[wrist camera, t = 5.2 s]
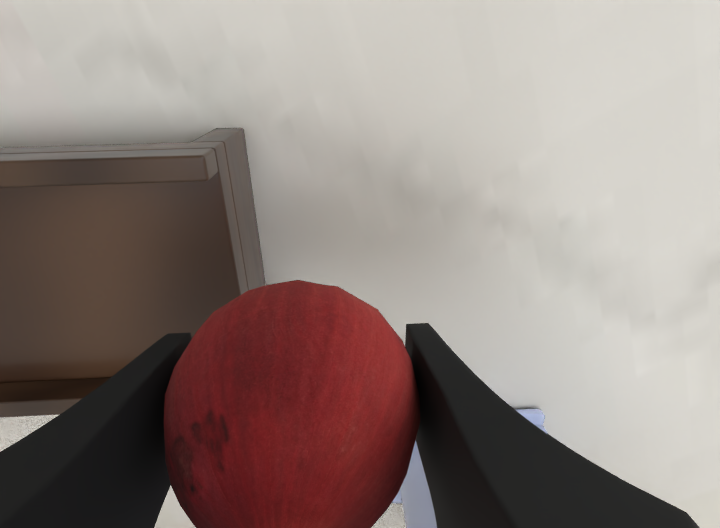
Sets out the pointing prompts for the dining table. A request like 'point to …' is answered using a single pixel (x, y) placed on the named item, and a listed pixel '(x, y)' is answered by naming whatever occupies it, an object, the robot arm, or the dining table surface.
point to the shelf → (115, 257)
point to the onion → (291, 412)
